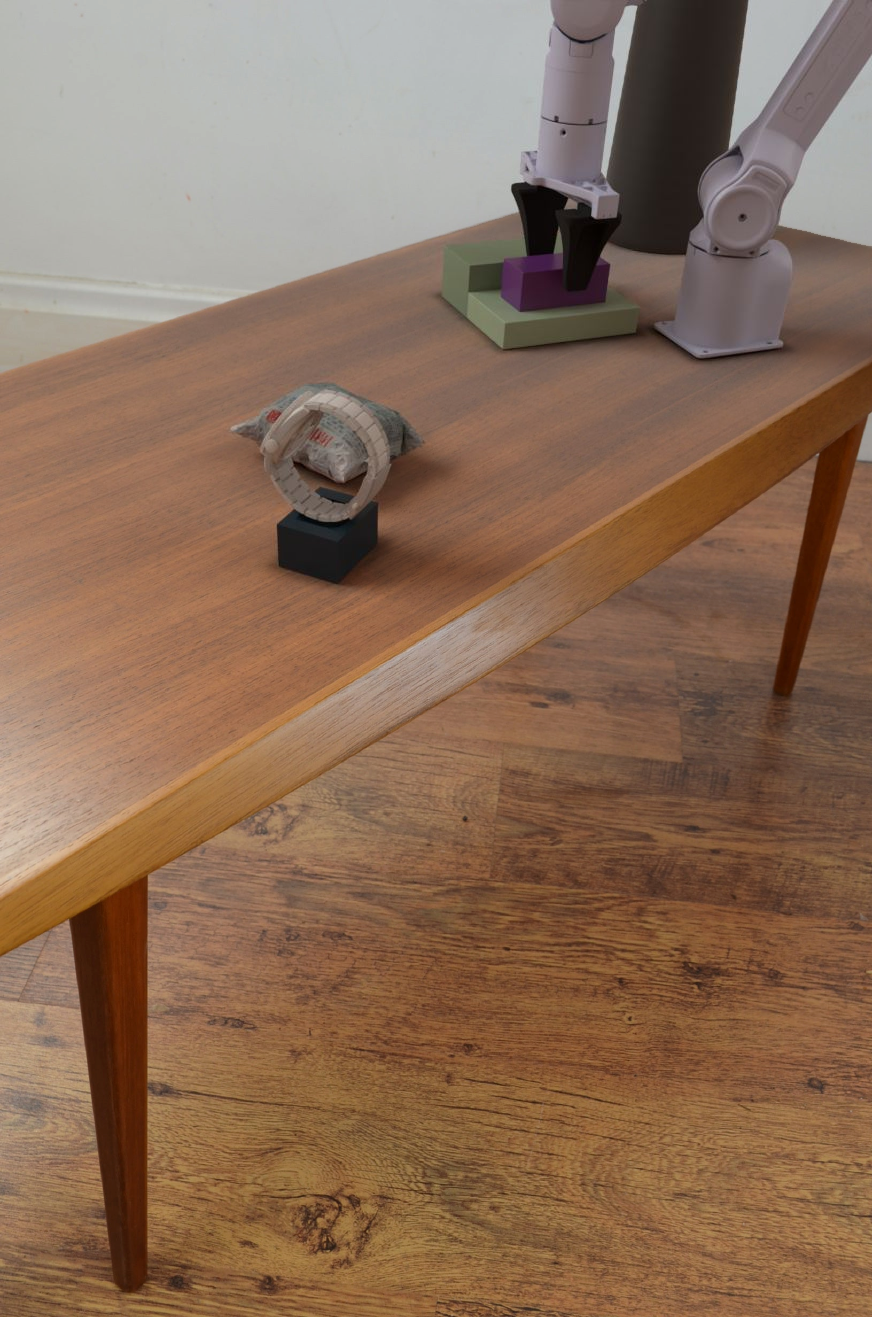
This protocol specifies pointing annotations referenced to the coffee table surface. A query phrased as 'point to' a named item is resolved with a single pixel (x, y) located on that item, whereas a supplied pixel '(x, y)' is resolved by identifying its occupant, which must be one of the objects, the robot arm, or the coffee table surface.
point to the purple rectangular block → (548, 283)
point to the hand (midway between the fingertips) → (556, 276)
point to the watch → (325, 489)
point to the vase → (673, 117)
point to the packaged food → (335, 435)
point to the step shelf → (478, 298)
